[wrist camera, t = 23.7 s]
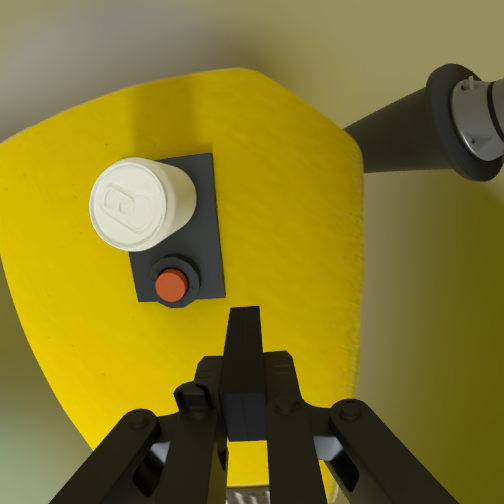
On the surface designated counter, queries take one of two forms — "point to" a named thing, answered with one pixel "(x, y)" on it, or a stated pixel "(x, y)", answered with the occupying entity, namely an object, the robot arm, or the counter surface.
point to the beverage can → (140, 203)
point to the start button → (171, 285)
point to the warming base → (186, 243)
